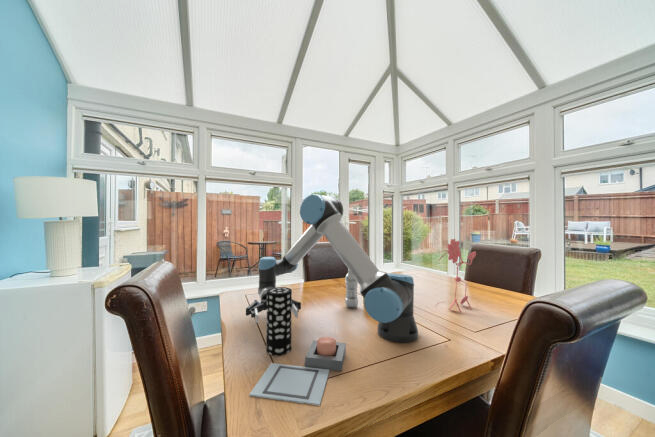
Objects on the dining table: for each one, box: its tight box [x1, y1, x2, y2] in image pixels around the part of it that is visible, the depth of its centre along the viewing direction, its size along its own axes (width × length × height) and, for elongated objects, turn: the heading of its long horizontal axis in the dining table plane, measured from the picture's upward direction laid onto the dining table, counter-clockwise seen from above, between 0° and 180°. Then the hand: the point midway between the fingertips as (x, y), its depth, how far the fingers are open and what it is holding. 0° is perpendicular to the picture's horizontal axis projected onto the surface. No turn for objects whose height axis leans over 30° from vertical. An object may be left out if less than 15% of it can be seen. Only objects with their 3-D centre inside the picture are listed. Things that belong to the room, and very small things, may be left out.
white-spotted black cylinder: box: [265, 286, 293, 356], centre depth 86 cm, size 8×8×20 cm
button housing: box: [304, 339, 347, 372], centre depth 81 cm, size 11×11×3 cm
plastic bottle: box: [344, 268, 359, 309], centre depth 128 cm, size 6×7×20 cm
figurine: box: [435, 238, 480, 313], centre depth 130 cm, size 15×26×35 cm, turn 123°
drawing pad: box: [249, 362, 331, 406], centre depth 69 cm, size 18×14×1 cm
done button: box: [317, 336, 337, 357], centre depth 81 cm, size 6×6×4 cm
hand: (277, 316), depth 87 cm, fingers open, 13 cm apart
